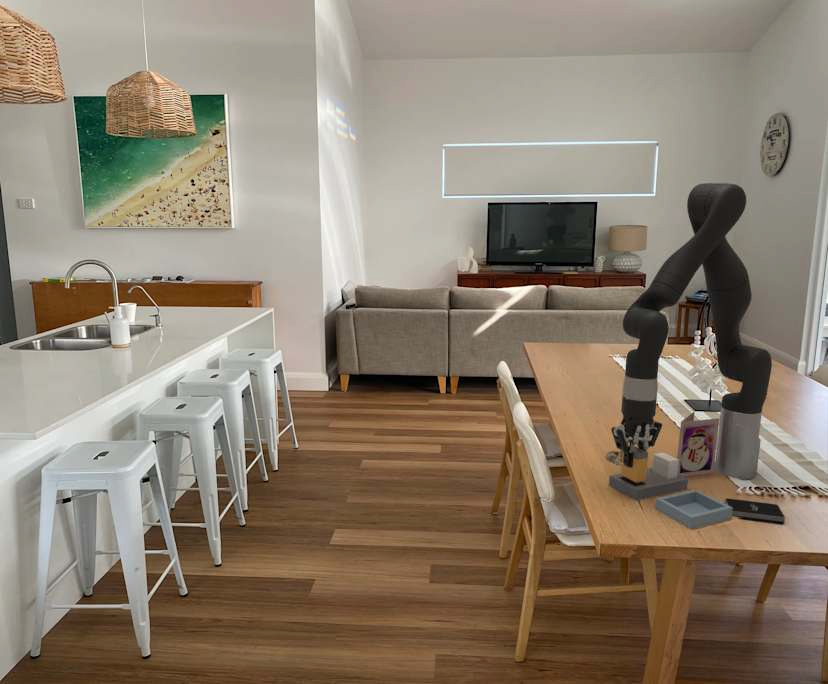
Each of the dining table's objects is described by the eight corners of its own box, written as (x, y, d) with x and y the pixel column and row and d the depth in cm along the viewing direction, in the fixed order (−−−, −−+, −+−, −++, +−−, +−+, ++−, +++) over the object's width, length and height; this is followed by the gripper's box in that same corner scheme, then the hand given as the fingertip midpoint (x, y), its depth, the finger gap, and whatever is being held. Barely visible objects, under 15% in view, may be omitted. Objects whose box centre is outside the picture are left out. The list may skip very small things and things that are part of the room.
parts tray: (694, 501, 148) (695, 489, 148) (731, 520, 139) (732, 507, 139) (654, 510, 143) (655, 498, 143) (690, 530, 135) (691, 517, 134)
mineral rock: (604, 458, 169) (607, 441, 175) (603, 471, 171) (606, 454, 177) (648, 465, 165) (649, 447, 172) (646, 479, 167) (647, 460, 174)
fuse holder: (658, 477, 162) (659, 465, 161) (686, 491, 154) (688, 479, 153) (608, 487, 156) (609, 475, 155) (635, 502, 148) (636, 490, 147)
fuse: (660, 479, 160) (662, 452, 158) (675, 486, 155) (678, 459, 154) (651, 481, 158) (653, 454, 157) (666, 488, 154) (669, 461, 152)
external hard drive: (784, 526, 138) (785, 518, 137) (728, 519, 141) (729, 510, 140) (776, 512, 144) (777, 504, 144) (722, 505, 147) (723, 497, 147)
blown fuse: (630, 472, 155) (632, 445, 154) (645, 480, 151) (648, 452, 149) (620, 474, 154) (623, 446, 152) (635, 482, 149) (638, 454, 148)
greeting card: (677, 480, 160) (683, 423, 157) (658, 469, 167) (663, 413, 164) (715, 475, 163) (721, 419, 160) (695, 464, 170) (701, 410, 167)
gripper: (650, 387, 154) (645, 455, 158) (604, 394, 149) (599, 464, 152) (675, 395, 148) (668, 466, 151) (627, 402, 142) (621, 476, 145)
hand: (634, 465), depth 152 cm, fingers closed on blown fuse, 3 cm apart
